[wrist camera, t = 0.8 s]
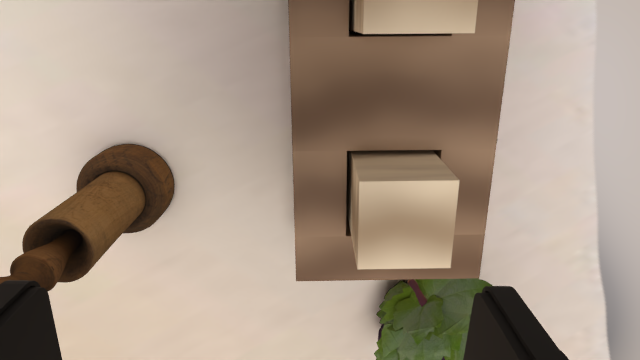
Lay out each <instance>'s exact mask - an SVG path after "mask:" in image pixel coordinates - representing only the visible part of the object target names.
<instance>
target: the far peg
mask: <svg viewBox="0 0 640 360" xmlns="http://www.w3.org/2000/svg"><path fill="white" fill-rule="evenodd" d="M459 181H460V180H459V179H458V178H457V177H456V176H455V175H454V174H453V173H452V172H451V170H450V169H449V168H448V167H447V166H446V165H445V164H444V163H443V162H442V160H441V159H440V158H439V157H438V156H437V155H436V154H435V153H434V152H433V150H372V151H347V215H348V220H349V226H350V231H351V237H352V242H353V248H354V253H355V259H356V264H357V269H421V268H451V258H452V248H453V239H454V229H455V219H456V210H457V200H458V190H459Z"/></svg>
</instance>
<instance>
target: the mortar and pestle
mask: <svg viewBox="0 0 640 360" xmlns="http://www.w3.org/2000/svg"><path fill="white" fill-rule="evenodd" d="M173 193H174V181H173V177H172V174H171V171H170V169H169V167H168V166H167V164H166V163H165V162H164V160H163V159H162V158H161V157H160V156H159V155H157V154H156V153H155V152H153V151H152V150H150V149H148V148H145V147H142V146H139V145H133V144H123V145H117V146H113V147H111V148H108V149H106V150H104V151H103V152H101V153H100V154H98V155H97V156H95V157H93V158H92V159H91V160H89V161H88V162H87V163H86V164H85V166H84V167H83V168H82V170H81V172H80V174H79V176H78V180H77V193H75V194H74V195H73V196H71V197H70V198H68V199H67V200H66V201H64V202H63V203H61V204H60V205H59V206H57V207H56V208H54V209H53V210H51V211H50V212H49V213H47V214H46V215H44V216H43V217H41V218H40V219H39V220H37V221H36V222H34V223H33V224H32V225H31V226H30V227H29V228H28V229H27V231H26V232H25V235H24V237H23V252H24V254H22V255H20V256H19V257H17V258H16V259H15V260H14V261H13V262H12V264H11V268H10V273H11V275H10V276H7V277H0V284H1V283H3V282H4V281H8V280H27V281H36V282H38V283H39V284H40V287H42V288H45V289H46V290H47V291H50V290H51V289H52V288H53V287H54V286H55V285H56V283H57V282H72V281H75V280H78V279H80V278H82V277H83V276H84V275H86V274H87V273H88V271H89V270H90V269H91V268H92V267H93V266H94V265H95V263H96V262H97V261H98V260H99V259H100V258H101V256H102V255H103V254H104V253H105V252H106V251H107V250H108V249H109V247H110V246H111V245H112V244H113V243H114V242H115V241H116V240H117V239H118V237H119V236H120V235H121V234H122V233H134V232H138V231H142V230H144V229H146V228H148V227H150V226H151V225H152V224H154V223H155V222H156V221H157V220H158V219H159V217H160V216H161V215H162V214H163V213H164V211H165V210H166V209H167V207H168V206H169V204H170V202H171V200H172V197H173Z"/></svg>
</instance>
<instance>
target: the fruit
mask: <svg viewBox="0 0 640 360" xmlns="http://www.w3.org/2000/svg"><path fill="white" fill-rule="evenodd" d="M485 286H492V285H491V284H489V283H488V282H486V281H483V280H480V279H479V278H467V279H415V280H414V279H408V282H407V283H404V282H403V281H400V282H399V283H398V284H396V285H395V286H394V288H392V289H390V290H389V291H388V292H389V293H388V292H387V294H386V295H385V297H384V299H385V300H384V302H383V303H382V304H381V305H380V306H379V308H380V309H381V310H380V311H379V312H378V313H377V316H378V317H380V318H381V320H380V323H382V326H381V328H380V330H379V334H378V342H377V345H378V348H379V349H378V350H377V351H376V352H375V353H374V354H375V356H376V358H377V359H376V360H463V358H464V352H465V346H466V341H467V335H468V329H469V323H470V317H471V311H472V306H473V300H474V296H475V294H476V293H482V290H483V288H484V287H485Z"/></svg>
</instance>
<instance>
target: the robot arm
mask: <svg viewBox="0 0 640 360" xmlns="http://www.w3.org/2000/svg"><path fill="white" fill-rule="evenodd" d="M0 360H62V357H61V352H60V347H59V343H58V338H57V333H56V328H55V324H54V319H53V314H52V309H51V305H50V300H49V295H48V292H47V290H46V289H45V288H42V287H40V284H39V283H38V282H36V281H27V280H8V281H4V282H3V283H1V284H0ZM463 360H569V359H568V358H567V357H566V355H565V354H564V353H563V352H562V351H560V350H559V349H558V347H557V346H556V345H555V343H554V342H553V341H552V339H551V338H550V336H549V335H548V334H547V332H546V331H545V330H544V328H543V327H542V326H541V324H540V323H539V322H538V320H537V319H536V317H535V316H534V315H533V313H532V312H531V311H530V309H529V308H528V307H527V305H526V304H525V302H524V301H523V300H522V298H521V297H520V296H519V294H518V293H517V292H516V290H515V289H514V288H513V287H510V286H485V287H484V288H483V290H482V293H476V294H475V296H474V300H473V306H472V311H471V317H470V323H469V329H468V335H467V341H466V346H465V352H464V358H463Z"/></svg>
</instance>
